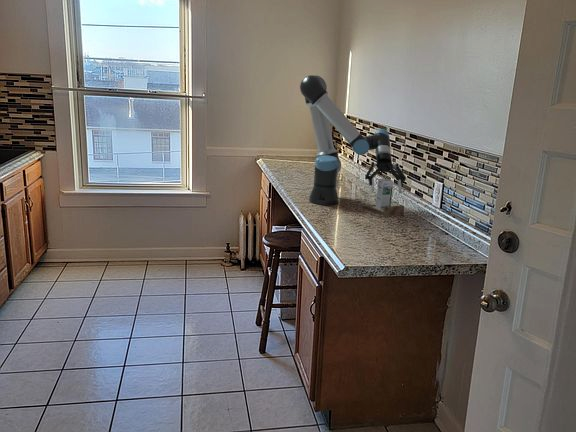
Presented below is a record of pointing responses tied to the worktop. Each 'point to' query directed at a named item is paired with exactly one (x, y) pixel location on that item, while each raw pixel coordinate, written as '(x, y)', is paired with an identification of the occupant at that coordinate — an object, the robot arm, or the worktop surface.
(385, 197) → the syrup box
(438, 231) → the worktop surface
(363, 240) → the worktop surface
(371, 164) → the robot arm
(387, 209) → the walnut stand board
